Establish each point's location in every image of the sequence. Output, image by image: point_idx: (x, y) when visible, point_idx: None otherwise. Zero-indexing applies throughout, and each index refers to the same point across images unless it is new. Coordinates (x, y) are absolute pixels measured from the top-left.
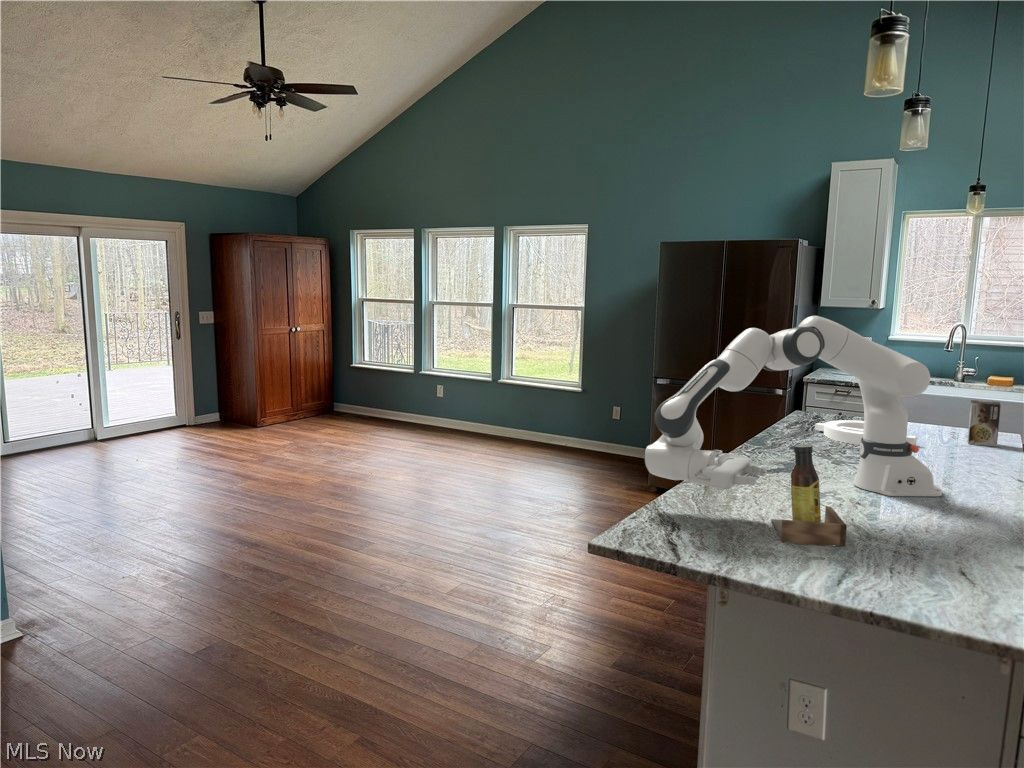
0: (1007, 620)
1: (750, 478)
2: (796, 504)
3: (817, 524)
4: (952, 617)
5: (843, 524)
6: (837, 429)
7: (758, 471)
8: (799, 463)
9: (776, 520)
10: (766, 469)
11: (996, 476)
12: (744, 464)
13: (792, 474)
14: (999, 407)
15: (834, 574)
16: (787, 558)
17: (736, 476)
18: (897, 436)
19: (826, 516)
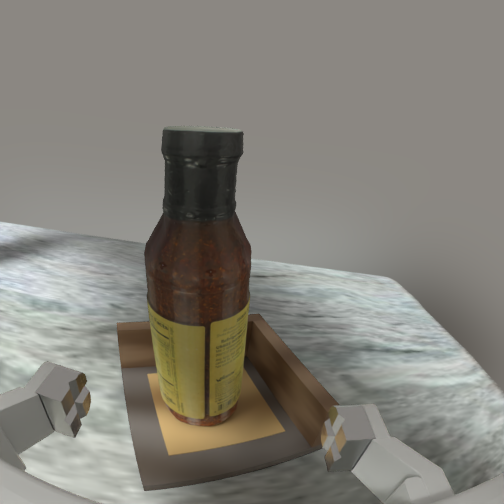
0: (352, 274)
1: (380, 425)
2: (238, 364)
3: (289, 350)
4: (385, 292)
5: (254, 316)
6: None
7: (67, 414)
8: (233, 210)
9: (151, 471)
10: (49, 363)
11: None
12: (38, 483)
13: (226, 273)
14: None
15: (393, 357)
16: (402, 415)
17: (447, 485)
18: None
19: (134, 349)
